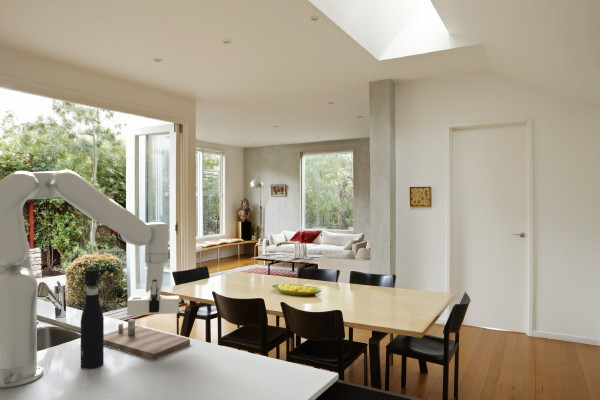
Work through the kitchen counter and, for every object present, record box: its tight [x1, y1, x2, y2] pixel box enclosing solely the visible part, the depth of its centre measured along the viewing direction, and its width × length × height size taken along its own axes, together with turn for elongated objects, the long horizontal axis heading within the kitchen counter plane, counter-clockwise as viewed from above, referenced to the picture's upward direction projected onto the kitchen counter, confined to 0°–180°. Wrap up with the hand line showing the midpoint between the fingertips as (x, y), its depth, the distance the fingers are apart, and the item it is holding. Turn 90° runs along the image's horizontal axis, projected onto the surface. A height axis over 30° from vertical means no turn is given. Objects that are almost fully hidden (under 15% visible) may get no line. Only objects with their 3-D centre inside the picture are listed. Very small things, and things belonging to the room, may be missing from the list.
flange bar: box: [126, 295, 180, 316], centre depth 144 cm, size 17×5×5 cm, turn 106°
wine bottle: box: [80, 268, 105, 370], centre depth 129 cm, size 6×6×30 cm
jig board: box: [104, 318, 191, 361], centre depth 148 cm, size 30×16×8 cm, turn 61°
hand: (154, 309), depth 144 cm, fingers closed on flange bar, 5 cm apart
